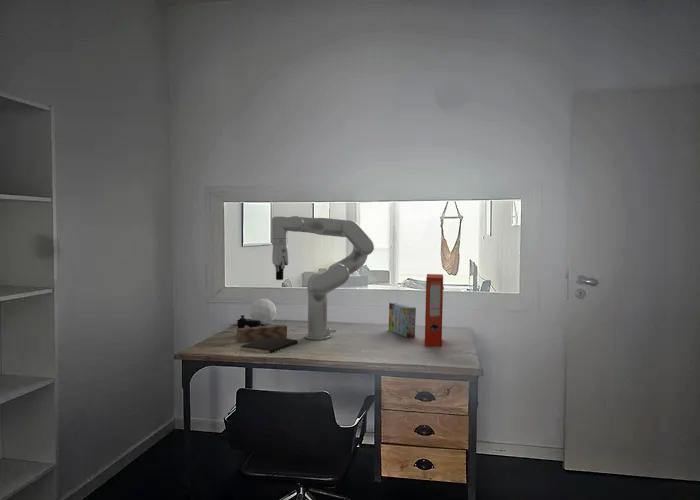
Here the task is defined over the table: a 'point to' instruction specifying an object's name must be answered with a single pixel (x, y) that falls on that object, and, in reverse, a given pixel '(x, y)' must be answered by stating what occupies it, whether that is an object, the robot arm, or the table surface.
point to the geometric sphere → (263, 311)
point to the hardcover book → (269, 344)
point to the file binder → (434, 310)
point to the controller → (247, 322)
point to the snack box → (402, 319)
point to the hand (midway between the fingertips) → (279, 279)
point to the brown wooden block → (261, 333)
